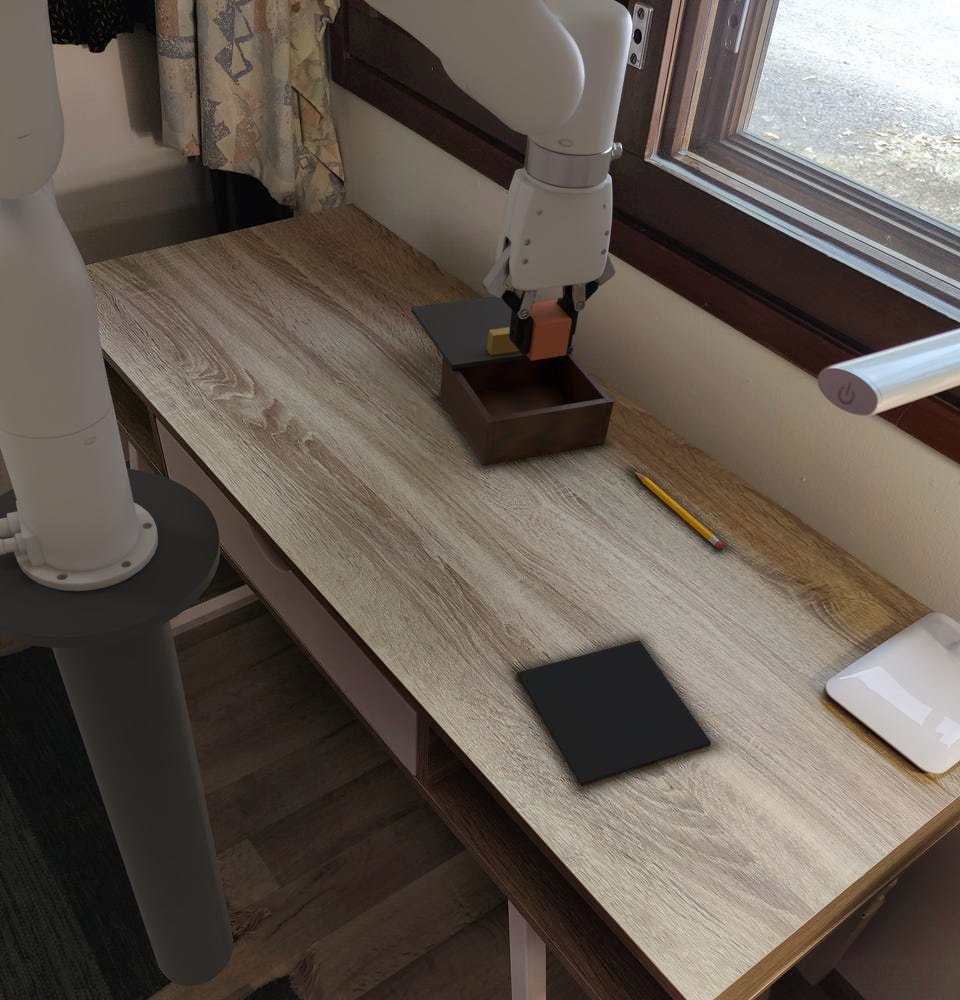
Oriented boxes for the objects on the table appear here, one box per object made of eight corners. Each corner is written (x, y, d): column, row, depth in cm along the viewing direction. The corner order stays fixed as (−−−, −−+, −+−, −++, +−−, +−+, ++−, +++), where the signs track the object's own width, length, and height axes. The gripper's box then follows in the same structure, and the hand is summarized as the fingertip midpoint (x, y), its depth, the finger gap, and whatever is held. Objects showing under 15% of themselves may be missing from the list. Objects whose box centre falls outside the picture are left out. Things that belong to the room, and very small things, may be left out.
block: (530, 361, 100) (535, 324, 97) (514, 340, 102) (519, 304, 99) (566, 355, 101) (572, 319, 98) (549, 335, 103) (554, 300, 101)
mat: (580, 786, 77) (581, 783, 76) (517, 675, 84) (517, 672, 84) (710, 745, 81) (711, 742, 80) (638, 643, 88) (639, 639, 88)
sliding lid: (451, 369, 105) (453, 344, 103) (411, 311, 113) (412, 286, 111) (572, 351, 110) (577, 327, 108) (525, 296, 118) (529, 273, 116)
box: (483, 465, 103) (488, 422, 100) (439, 399, 111) (442, 357, 107) (604, 443, 108) (614, 401, 104) (555, 381, 116) (561, 339, 112)
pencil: (717, 550, 98) (718, 545, 97) (631, 475, 105) (633, 470, 104) (723, 547, 98) (724, 542, 98) (637, 473, 105) (638, 468, 105)
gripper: (628, 137, 93) (595, 316, 106) (464, 150, 88) (451, 336, 101) (668, 170, 88) (629, 352, 102) (498, 186, 83) (480, 376, 96)
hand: (540, 342), depth 101 cm, fingers closed on block, 4 cm apart
